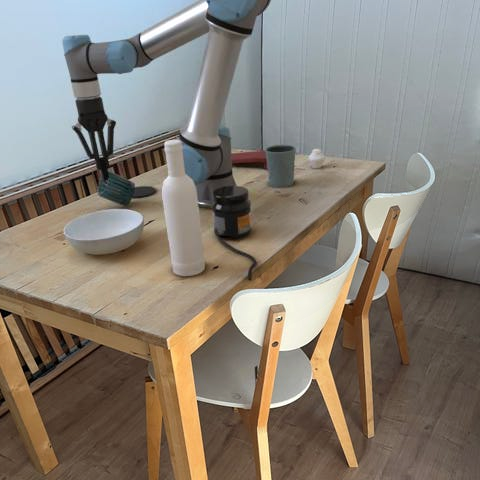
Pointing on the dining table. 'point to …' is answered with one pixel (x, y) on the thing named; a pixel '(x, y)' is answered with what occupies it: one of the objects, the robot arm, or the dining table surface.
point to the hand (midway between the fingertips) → (105, 179)
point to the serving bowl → (104, 231)
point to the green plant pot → (280, 165)
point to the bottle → (182, 214)
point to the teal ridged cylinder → (121, 192)
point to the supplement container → (231, 212)
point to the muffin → (316, 158)
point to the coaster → (143, 191)
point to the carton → (250, 157)
